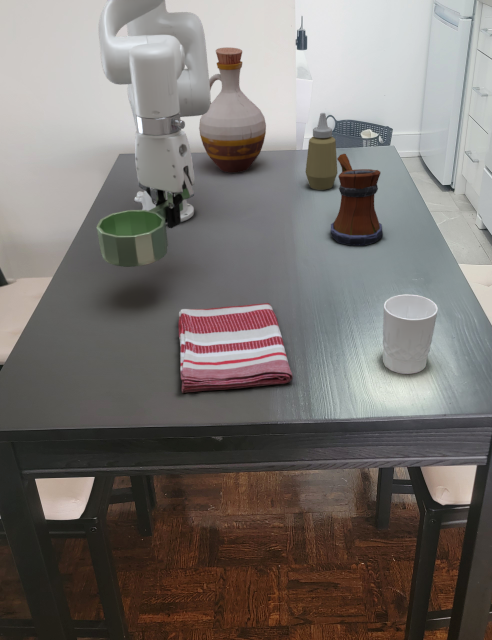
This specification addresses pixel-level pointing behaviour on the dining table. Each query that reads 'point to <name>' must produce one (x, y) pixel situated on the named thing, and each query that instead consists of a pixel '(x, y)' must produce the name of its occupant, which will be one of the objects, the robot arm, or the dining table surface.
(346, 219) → the mug
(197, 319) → the dish towel
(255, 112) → the jug
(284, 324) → the dining table surface
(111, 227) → the green saucepan
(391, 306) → the white cup
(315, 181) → the squeeze bottle
